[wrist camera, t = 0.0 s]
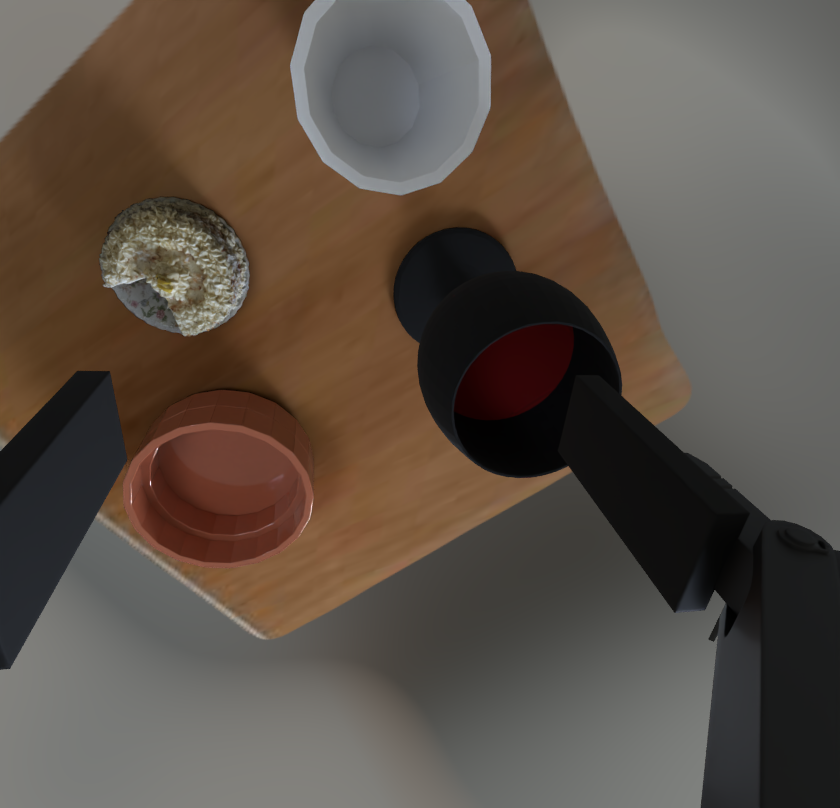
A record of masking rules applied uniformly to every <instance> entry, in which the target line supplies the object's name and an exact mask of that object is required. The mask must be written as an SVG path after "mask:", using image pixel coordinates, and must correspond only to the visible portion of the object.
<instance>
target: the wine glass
mask: <svg viewBox="0 0 840 808" xmlns="http://www.w3.org/2000/svg"><path fill="white" fill-rule="evenodd" d="M394 304H395V309H396V312H397V315H398V318H399V320H400V322H401V324H402V326H403V327H404V328H405V330H406V331H407V333H408V334H409V335H410V336H411V337H412V338H413V339H415V340H416V341H417V342H419V343H420V345H419V350H418V365H417V367H418V376H419V384H420V387H421V391H422V394H423V397H424V401H425V403H426V405H427V407H428V410H429V411H430V413H431V415H432V417H433V419H434V421H435V422H436V424H437V425H438V427H439V428H440V429H441V431H442V432H443V433H444V435H445V436H446V437H447V438H448V439H449V440H450V442H451V443H452V444H453V445H454V446H455V447H456V448H458V449H459V450H460V451H461V452H462V453H463V454H464V455H465V456H466V457H468V458H469V459H470V460H471V461H473V462H474V463H475V464H477V465H478V466H480V467H481V468H483V469H484V470H487V471H489V472H492V473H494V474H497V475H501V476H506V477H514V478H531V477H537V476H542V475H546V474H549V473H553V472H556V471H558V470H561V469H563V468H565V467H567V466H568V464H567V463H566V462H565V460H564V459H563V458H562V456H561V455H560V453H559V452H558V448H559V444H560V440H561V436H562V432H563V428H564V423H565V419H566V415H567V411H568V407H569V403H570V398H571V394H572V390H573V386H574V382H575V378H576V375H599V376H600V377H601V378H602V379H603V380H605V381H606V382H607V383H608V384H609V385H610V386H611V387H612V388H613V389H614V390H616V391H617V392H618V393H619V394H620V395H621V393H622V380H621V372H620V369H619V365H618V362H617V359H616V356H615V353H614V350H613V348H612V346H611V343H610V342H609V340H608V338H607V336H606V334H605V332H604V330H603V328H602V326H601V325H600V323H599V322H598V320H597V319H596V318H595V316H594V315H593V314H592V312H591V311H590V310H589V308H588V307H587V306H586V305H585V304H584V303H583V302H582V301H581V300H580V299H578V298H577V297H576V296H575V295H574V294H573V293H572V292H570V291H569V290H567V289H566V288H564V287H563V286H561V285H559V284H558V283H556V282H554V281H552V280H550V279H547V278H545V277H542V276H539V275H536V274H532V273H526V272H520V271H516V269H515V266H514V263H513V261H512V259H511V257H510V256H509V254H508V252H507V251H506V250H505V248H504V247H503V246H502V245H501V244H500V243H499V242H498V241H496V240H495V239H494V238H493V237H491V236H489V235H488V234H486V233H484V232H481V231H478V230H476V229H470V228H459V227H456V228H449V229H444V230H441V231H437V232H435V233H433V234H431V235H429V236H427V237H425V238H424V239H422V240H421V241H420V242H418V243H417V244H416V245H415V246H414V247H413V248H412V249H411V250H410V251H409V252H408V254H407V255H406V256H405V258H404V259H403V261H402V263H401V265H400V267H399V269H398V272H397V275H396V278H395V283H394Z"/></svg>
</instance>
